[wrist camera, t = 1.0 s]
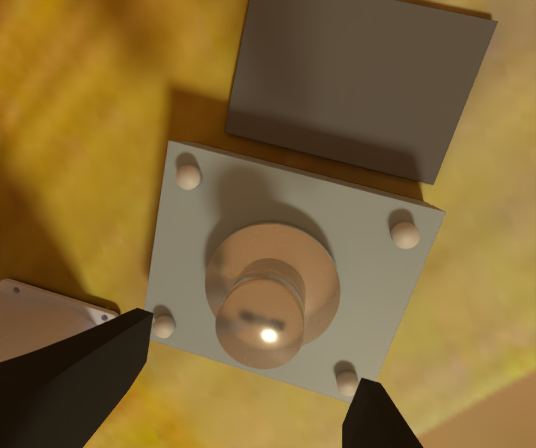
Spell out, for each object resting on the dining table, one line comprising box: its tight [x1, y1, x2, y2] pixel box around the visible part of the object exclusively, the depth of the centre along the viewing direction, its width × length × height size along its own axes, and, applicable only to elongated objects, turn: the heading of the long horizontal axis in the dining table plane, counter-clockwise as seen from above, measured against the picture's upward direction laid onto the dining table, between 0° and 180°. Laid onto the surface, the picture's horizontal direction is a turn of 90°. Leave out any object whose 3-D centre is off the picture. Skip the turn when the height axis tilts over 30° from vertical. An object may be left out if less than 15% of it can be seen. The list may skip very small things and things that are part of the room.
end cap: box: [205, 220, 340, 369], centre depth 15 cm, size 7×7×6 cm
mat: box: [224, 0, 498, 185], centre depth 16 cm, size 12×8×1 cm, turn 77°
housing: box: [144, 140, 446, 403], centre depth 18 cm, size 14×12×4 cm
